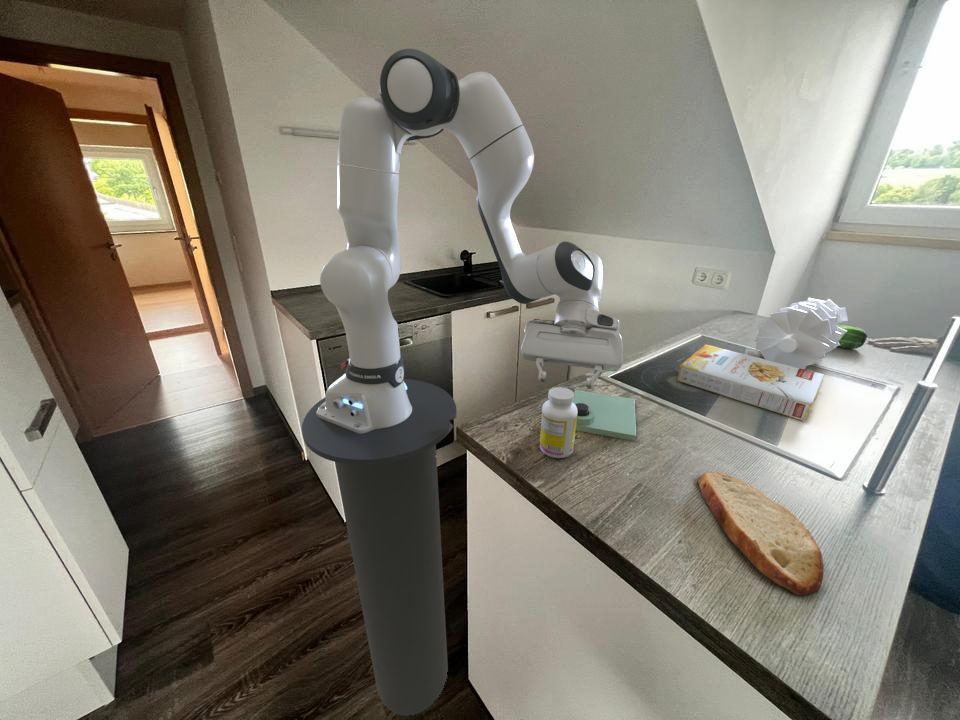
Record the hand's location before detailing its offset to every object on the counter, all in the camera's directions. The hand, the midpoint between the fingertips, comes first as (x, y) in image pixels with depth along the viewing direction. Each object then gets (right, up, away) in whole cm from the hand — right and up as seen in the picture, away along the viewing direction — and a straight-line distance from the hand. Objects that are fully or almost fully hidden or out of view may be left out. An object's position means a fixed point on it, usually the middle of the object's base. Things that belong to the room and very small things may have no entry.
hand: (565, 384), depth 77 cm
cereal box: (+53, -2, +25) cm, 58 cm away
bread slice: (+24, -21, -18) cm, 37 cm away
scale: (+11, -8, +12) cm, 18 cm away
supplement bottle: (-2, -13, 0) cm, 13 cm away
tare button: (+5, -7, +7) cm, 11 cm away
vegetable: (+99, +10, +54) cm, 113 cm away
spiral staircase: (+78, +5, +41) cm, 88 cm away
